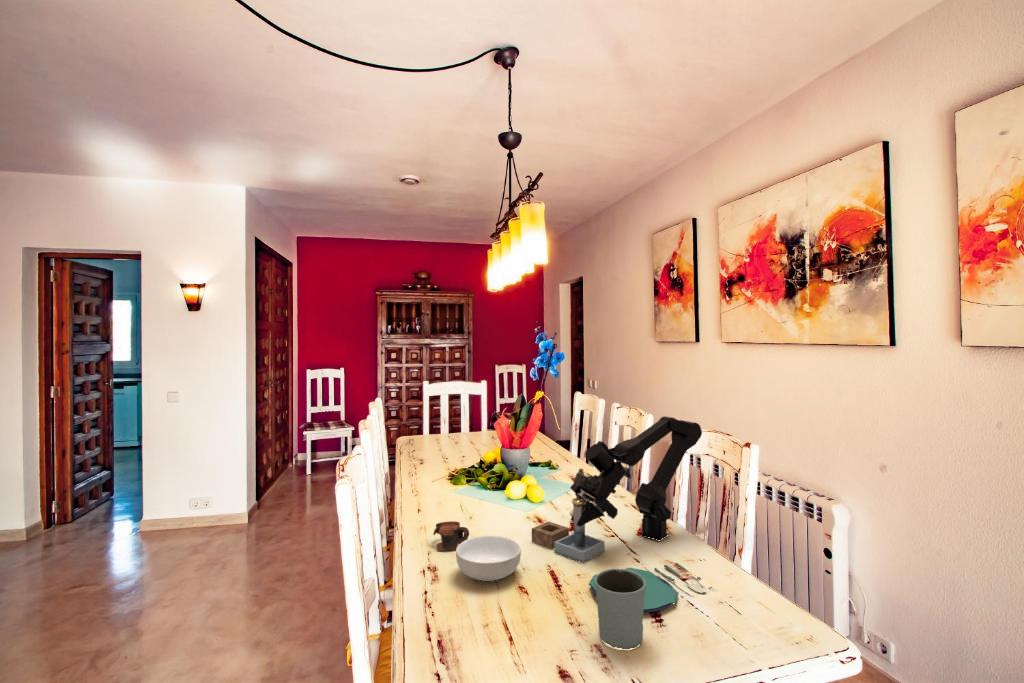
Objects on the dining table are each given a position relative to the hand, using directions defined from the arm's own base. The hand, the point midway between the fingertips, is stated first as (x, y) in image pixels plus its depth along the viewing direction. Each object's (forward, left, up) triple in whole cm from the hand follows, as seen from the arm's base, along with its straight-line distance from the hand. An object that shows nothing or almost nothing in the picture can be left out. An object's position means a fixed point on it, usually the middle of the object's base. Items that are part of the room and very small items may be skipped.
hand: (575, 523), depth 140 cm
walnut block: (+10, -1, -8) cm, 14 cm away
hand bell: (+17, -26, -9) cm, 33 cm away
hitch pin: (-1, -1, -7) cm, 7 cm away
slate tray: (-1, -1, -8) cm, 9 cm away
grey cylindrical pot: (-32, +26, -9) cm, 42 cm away
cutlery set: (-26, +4, -9) cm, 28 cm away
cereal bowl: (+8, +26, -9) cm, 29 cm away
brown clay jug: (+30, +21, -9) cm, 38 cm away
